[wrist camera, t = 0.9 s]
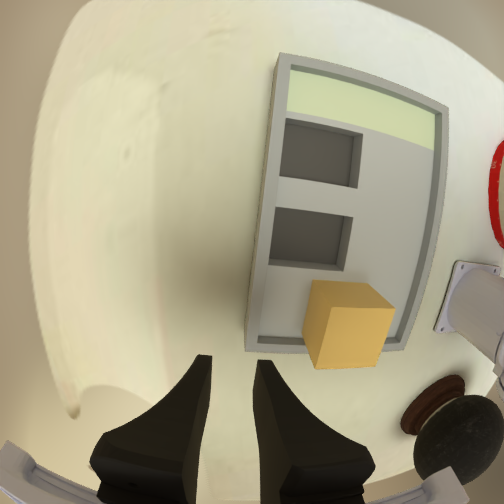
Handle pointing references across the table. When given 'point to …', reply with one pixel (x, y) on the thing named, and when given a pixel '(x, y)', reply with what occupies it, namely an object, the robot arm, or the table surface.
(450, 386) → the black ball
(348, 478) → the robot arm
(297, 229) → the box
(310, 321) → the block
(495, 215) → the kitchen timer
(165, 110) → the table surface
